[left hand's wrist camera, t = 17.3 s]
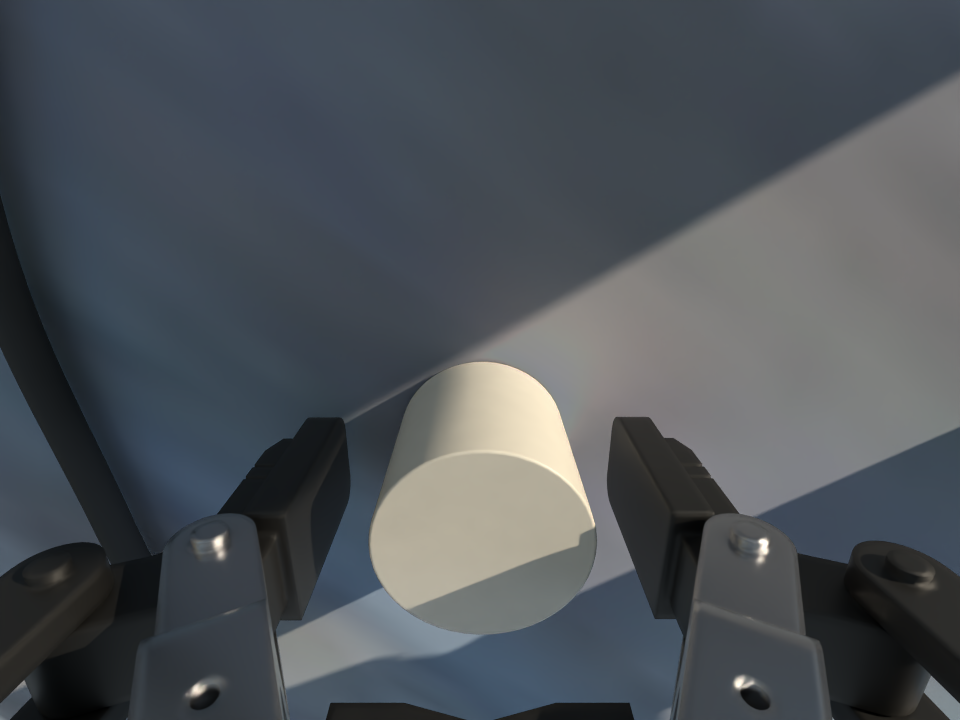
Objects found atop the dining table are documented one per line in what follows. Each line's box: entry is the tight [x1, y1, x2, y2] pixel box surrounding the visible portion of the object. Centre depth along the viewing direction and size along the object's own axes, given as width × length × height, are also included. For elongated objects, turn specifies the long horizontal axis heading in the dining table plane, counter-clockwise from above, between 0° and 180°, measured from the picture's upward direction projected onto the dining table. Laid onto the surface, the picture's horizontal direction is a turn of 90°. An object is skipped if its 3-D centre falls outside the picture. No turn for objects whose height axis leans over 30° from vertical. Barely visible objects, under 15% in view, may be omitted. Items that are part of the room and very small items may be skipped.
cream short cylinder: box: [369, 362, 597, 634], centre depth 11 cm, size 4×4×4 cm
